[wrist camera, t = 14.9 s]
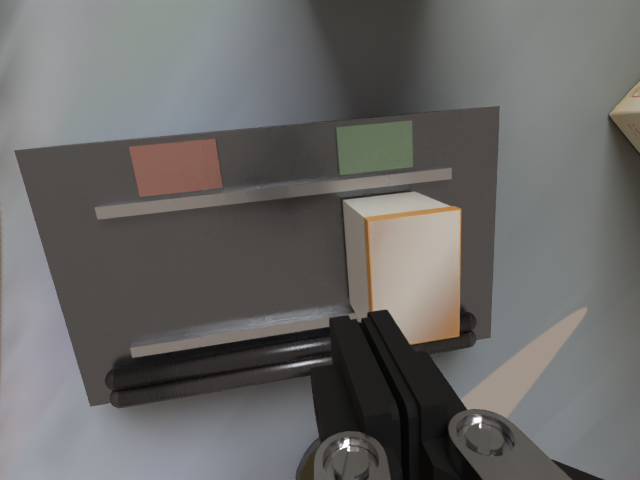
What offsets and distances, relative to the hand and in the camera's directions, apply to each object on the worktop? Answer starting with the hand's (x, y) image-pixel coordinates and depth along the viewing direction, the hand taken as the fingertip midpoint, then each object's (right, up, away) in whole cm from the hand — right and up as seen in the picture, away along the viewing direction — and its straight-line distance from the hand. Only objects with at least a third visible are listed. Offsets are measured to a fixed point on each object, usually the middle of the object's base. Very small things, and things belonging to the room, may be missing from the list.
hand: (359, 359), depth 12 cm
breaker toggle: (+2, +3, +11) cm, 11 cm away
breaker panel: (-3, +3, +14) cm, 15 cm away
